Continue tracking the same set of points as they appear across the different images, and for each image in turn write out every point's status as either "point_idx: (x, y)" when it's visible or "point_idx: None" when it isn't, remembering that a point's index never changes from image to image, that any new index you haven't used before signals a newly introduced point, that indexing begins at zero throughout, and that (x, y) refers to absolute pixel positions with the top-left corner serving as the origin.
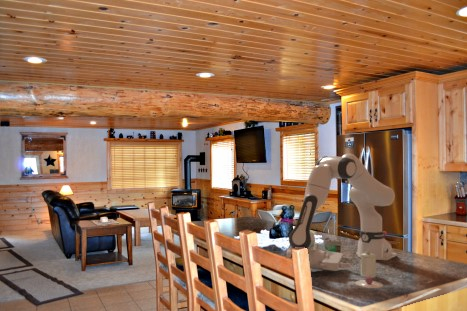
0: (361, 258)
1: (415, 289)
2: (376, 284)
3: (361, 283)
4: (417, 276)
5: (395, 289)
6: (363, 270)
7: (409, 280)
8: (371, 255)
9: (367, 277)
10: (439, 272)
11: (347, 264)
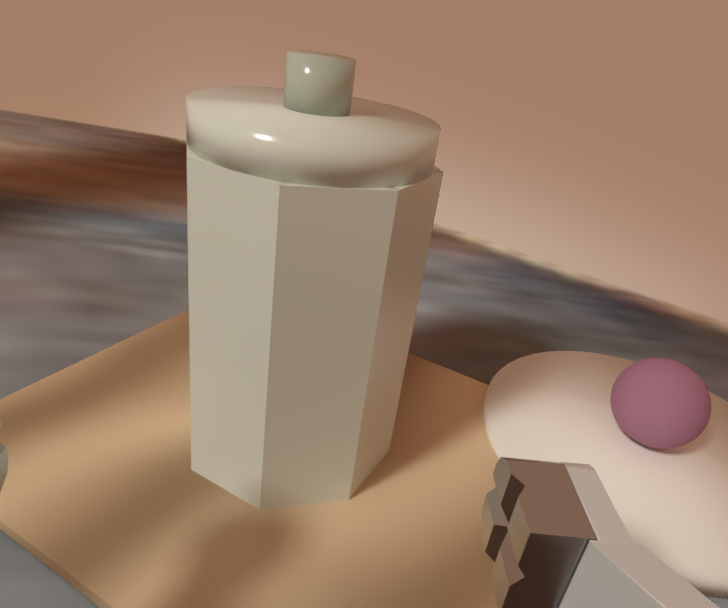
0: (370, 225)
1: (482, 254)
2: (605, 386)
3: (706, 505)
4: (160, 206)
5: (567, 318)
6: (381, 392)
7: None
8: (390, 109)
9: (699, 384)
10: (56, 149)
11: (610, 530)
